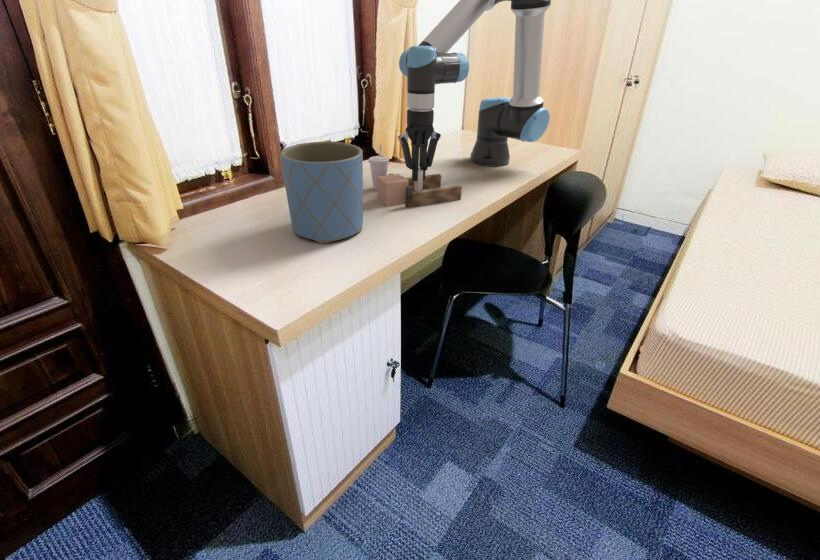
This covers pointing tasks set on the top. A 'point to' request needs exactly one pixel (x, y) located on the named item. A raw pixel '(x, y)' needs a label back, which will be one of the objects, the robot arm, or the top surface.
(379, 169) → the smoothie
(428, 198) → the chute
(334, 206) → the planter
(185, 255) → the top surface
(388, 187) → the block
